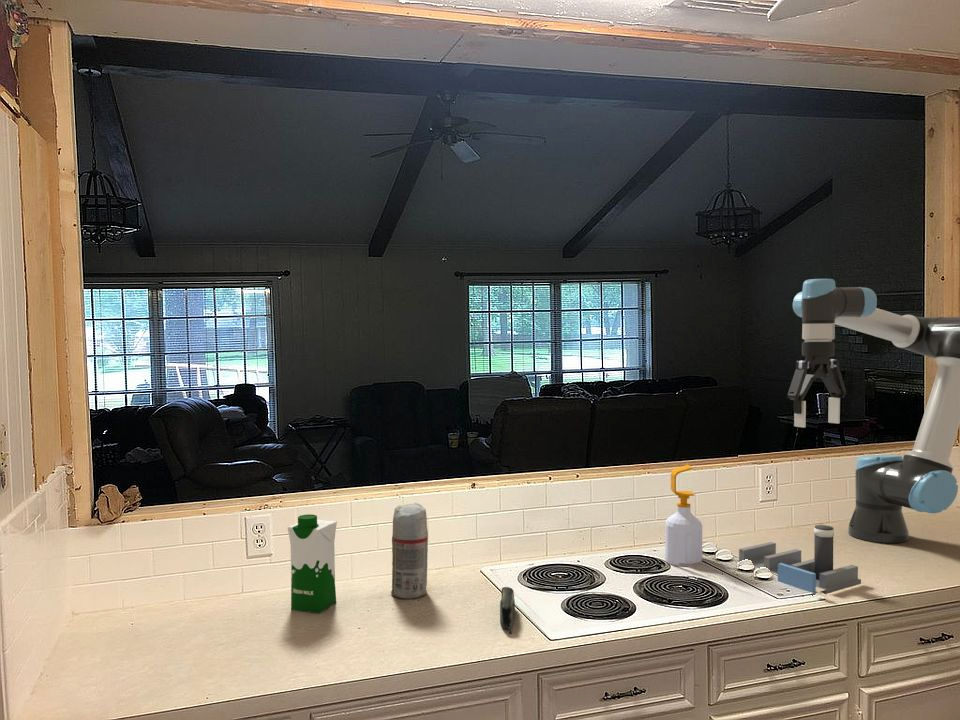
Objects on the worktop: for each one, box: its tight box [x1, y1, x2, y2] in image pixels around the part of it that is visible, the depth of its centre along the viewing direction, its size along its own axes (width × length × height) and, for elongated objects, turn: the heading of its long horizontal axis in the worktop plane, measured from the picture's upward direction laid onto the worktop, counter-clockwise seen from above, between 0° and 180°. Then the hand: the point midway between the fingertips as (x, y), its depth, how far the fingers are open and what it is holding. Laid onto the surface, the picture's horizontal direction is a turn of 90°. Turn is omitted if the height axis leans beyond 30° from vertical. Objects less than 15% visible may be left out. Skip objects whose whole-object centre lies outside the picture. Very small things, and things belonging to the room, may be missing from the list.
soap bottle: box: [664, 464, 703, 568], centre depth 193 cm, size 9×9×25 cm
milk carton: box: [287, 513, 338, 614], centre depth 164 cm, size 9×9×20 cm
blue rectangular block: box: [777, 563, 817, 597], centre depth 172 cm, size 1×9×5 cm, turn 31°
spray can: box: [390, 502, 429, 600], centre depth 172 cm, size 8×8×20 cm
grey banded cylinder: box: [813, 524, 835, 580], centre depth 177 cm, size 4×4×12 cm
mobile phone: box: [499, 586, 516, 634], centre depth 156 cm, size 5×3×15 cm
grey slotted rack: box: [736, 541, 862, 595], centre depth 184 cm, size 13×25×4 cm, turn 31°
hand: (817, 425), depth 192 cm, fingers open, 13 cm apart
